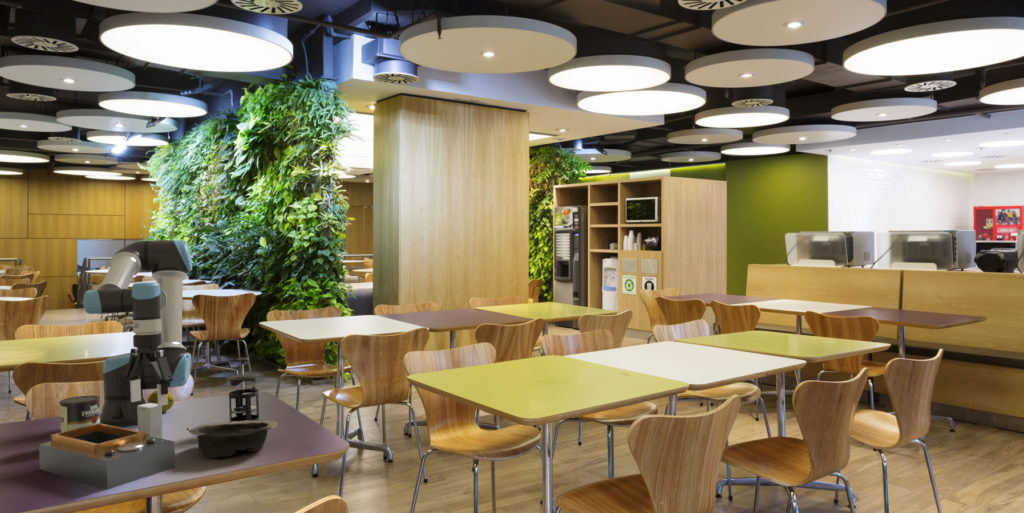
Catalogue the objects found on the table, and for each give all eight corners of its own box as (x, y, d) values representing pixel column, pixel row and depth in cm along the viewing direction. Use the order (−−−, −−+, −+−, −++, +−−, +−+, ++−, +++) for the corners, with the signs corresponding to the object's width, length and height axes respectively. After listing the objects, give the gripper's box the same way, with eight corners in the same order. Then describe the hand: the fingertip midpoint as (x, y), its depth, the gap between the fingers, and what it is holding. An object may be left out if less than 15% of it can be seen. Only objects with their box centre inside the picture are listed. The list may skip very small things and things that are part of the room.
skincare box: (137, 444, 201) (136, 405, 201) (151, 440, 205) (149, 402, 205) (150, 447, 198) (149, 407, 198) (163, 443, 202) (162, 404, 202)
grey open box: (39, 469, 180) (38, 436, 179) (107, 451, 195) (106, 420, 195) (107, 489, 164) (106, 452, 164) (175, 467, 180) (174, 434, 179)
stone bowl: (198, 469, 177) (196, 434, 177) (181, 453, 197) (179, 422, 198) (291, 449, 192) (289, 417, 192) (266, 436, 212) (264, 407, 212)
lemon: (143, 412, 242) (143, 390, 242) (165, 407, 248) (165, 386, 248) (156, 416, 235) (156, 394, 235) (179, 412, 241) (178, 390, 241)
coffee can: (109, 440, 206) (107, 395, 206) (81, 450, 196) (80, 403, 196) (81, 439, 208) (79, 394, 208) (52, 449, 198) (50, 402, 198)
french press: (264, 428, 216) (262, 358, 216) (234, 434, 210) (232, 362, 210) (253, 421, 226) (251, 354, 225) (224, 426, 220) (222, 357, 219)
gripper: (111, 333, 204) (112, 402, 204) (160, 336, 192) (162, 409, 192) (135, 330, 210) (136, 397, 210) (184, 333, 198) (186, 404, 198)
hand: (149, 403), depth 201 cm, fingers open, 13 cm apart
